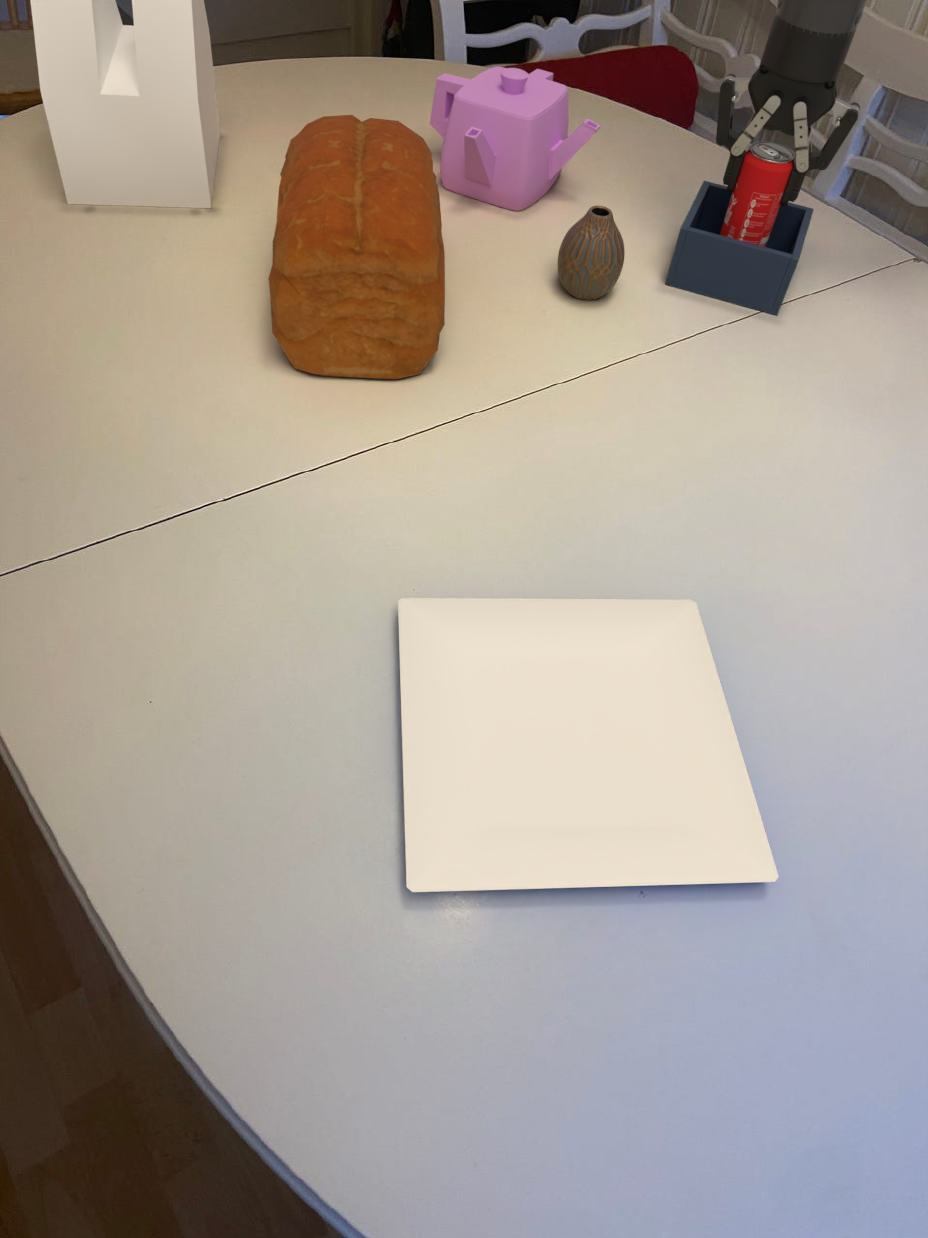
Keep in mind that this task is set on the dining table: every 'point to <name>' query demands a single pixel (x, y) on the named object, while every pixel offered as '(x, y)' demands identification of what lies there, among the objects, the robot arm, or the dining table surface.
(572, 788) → the plate
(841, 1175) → the dining table surface
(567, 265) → the vase
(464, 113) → the teakettle
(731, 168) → the robot arm
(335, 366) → the bread
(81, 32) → the white notched block
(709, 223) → the tub
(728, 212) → the beverage can
